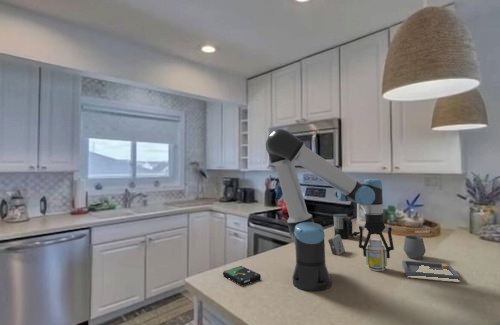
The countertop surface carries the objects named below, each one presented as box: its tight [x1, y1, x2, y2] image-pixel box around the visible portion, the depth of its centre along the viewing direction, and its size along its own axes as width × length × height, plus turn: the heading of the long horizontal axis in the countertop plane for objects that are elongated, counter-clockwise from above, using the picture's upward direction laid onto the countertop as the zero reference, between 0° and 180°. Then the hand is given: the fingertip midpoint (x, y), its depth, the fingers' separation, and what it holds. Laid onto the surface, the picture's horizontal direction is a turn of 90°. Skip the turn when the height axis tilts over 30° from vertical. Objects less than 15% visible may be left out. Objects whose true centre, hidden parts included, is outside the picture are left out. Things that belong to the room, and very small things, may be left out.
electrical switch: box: [328, 235, 346, 256], centre depth 152 cm, size 9×5×9 cm, turn 141°
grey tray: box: [401, 260, 461, 281], centre depth 118 cm, size 18×15×2 cm
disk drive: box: [222, 265, 262, 286], centre depth 122 cm, size 10×3×15 cm
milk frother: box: [332, 213, 360, 240], centre depth 185 cm, size 14×16×15 cm
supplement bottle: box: [367, 238, 386, 272], centre depth 126 cm, size 7×7×13 cm
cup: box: [403, 235, 426, 260], centre depth 139 cm, size 10×9×10 cm
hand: (376, 264), depth 126 cm, fingers closed on supplement bottle, 7 cm apart
